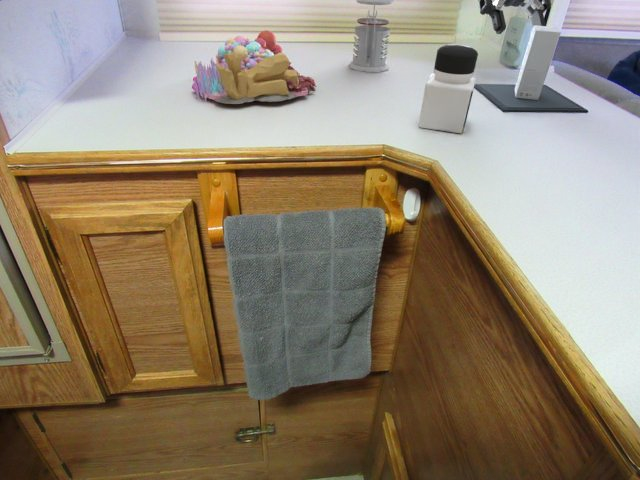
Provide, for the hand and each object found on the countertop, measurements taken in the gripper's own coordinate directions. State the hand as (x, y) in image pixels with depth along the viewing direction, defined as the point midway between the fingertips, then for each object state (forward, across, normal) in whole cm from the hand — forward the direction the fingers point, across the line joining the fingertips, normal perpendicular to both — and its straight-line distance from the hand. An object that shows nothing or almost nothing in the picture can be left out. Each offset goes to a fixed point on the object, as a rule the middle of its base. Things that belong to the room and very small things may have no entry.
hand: (520, 31), depth 82 cm
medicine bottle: (+20, -23, -4) cm, 31 cm away
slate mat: (+13, 0, +3) cm, 13 cm away
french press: (-6, -24, +22) cm, 33 cm away
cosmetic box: (+12, 0, +3) cm, 12 cm away
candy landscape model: (+3, -52, +13) cm, 54 cm away
